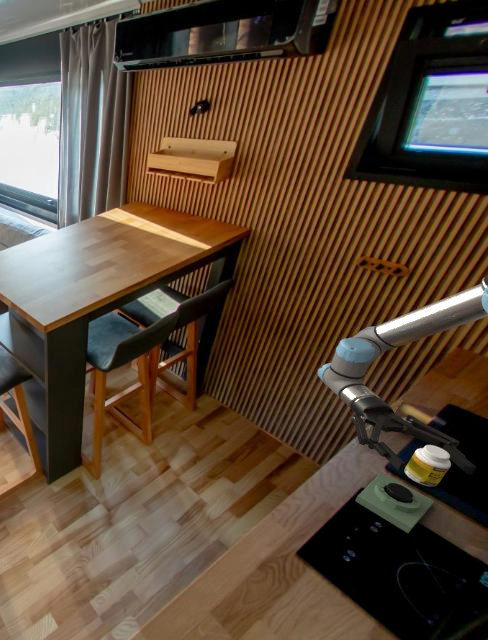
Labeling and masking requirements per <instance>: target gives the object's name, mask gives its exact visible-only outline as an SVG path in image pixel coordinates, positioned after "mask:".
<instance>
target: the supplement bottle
mask: <svg viewBox="0 0 488 640" xmlns="http://www.w3.org/2000/svg"><path fill="white" fill-rule="evenodd" d="M449 458H450V455H449V453H448V452H446V451H445V450H443V449H441V448H439V447H437V446H434V445H431V444H426V445H425V446H424V447H420V448H417V449H416V450H415V451H414V453H413V455H412V456H411V458H410V459H409V461H408V463H407V464H406V465H405V466H404V473H405V475H406V476H407V477H408V479H411V480H412V481H413V482H416V483H417V484H419V485H422V486H426V487H436V486H438V485H439V483H440V482H441V481H442V479H443V478H444V476H445V475H446V474H447V472H448V471H449V470H450V468H451V466H452V463H451V462H452V461H451V460H450V459H449Z"/></svg>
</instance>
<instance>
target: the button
mask: <svg viewBox="0 0 488 640" xmlns="http://www.w3.org/2000/svg"><path fill="white" fill-rule="evenodd" d="M385 491H386V493H387V494H388V495H389V496H390V497H392V498H393V499H395V500H397V501H399V502H403V503H409V502H410V501H411V499H412V498H413V494H412V492H411V491H410V490H409V489H407V488H406V487H404V486H402V485H400V484H396V483H389V484H388V485H387V487H386V489H385Z"/></svg>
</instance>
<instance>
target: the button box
mask: <svg viewBox="0 0 488 640" xmlns="http://www.w3.org/2000/svg"><path fill="white" fill-rule="evenodd" d="M389 483H396V484H400V485H402V486H404V487H406V488H407V489H409V490H410V491H411V492H412V494H413V498H412V499H411V501H410V502H409V503H403V502H399V501H397V500H395V499H393V498H392V497H390V496H389V495H388V494H387V493H386V491H385V489H386V487H387V485H388V484H389ZM354 501H355V502H356V503H358V504H359V505H361V506H363V507H364V508H365V509H367V510H369V511H370V512H372V513H374V514H376V515H377V516H379V517H381V518H382V519H384V520H385V521H387V522H388V523H390V524H392V525H393V526H395V527H396V528H398V529H400V530H402V531H403V532H405V533H407V534H409V533H410V532H411V531H412V530H413V528H415V526H416V525H417V524H418V522H419V521H420V520H421V519H422V518H423V517H424V515H425V514H426V513H427V512H428V510H429V509H430V508H431V507H432V505H433V504H434V503H435V500H433V499H431V498H430V497H427V496H426V495H424V494H422V493H420V492H418V491H417V490H415V489H413V488H411V487H410V486H407V485H405V484H404V483H402V482H400V481H398V480H396V479H394V478H392V477H391V476H389V475H388V474H387V475H386V474H385V473H383V472H379V473H378V474H377V476H375V478H374V479H372V481H370V482H369V484H368V485H367V486H366V487H365V488H364V489H363V490H362V491H361V492H360V493H359V494H358V495H357V497H356V498H355V500H354Z"/></svg>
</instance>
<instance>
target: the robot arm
mask: <svg viewBox="0 0 488 640" xmlns="http://www.w3.org/2000/svg"><path fill="white" fill-rule="evenodd" d="M487 317H488V275H487V276H485V277H483V278H482V280H481V282H480V283H479V284H477V285H474V286H472V287H469V288H467V289H464V290H462V291H459V292H457V293H454V294H452V295H449V296H447V297H444V298H442V299H439V300H437V301H434V302H432V303H430V304H427V305H425V306H422V307H419V308H418V309H415V310H412V311H410V312H407V313H405V314H402V315H400V316H397V317H395V318H393V319H390V320H387V321H385V322H383V323H380V324H378V325H376V326H368V327H366V328H364V329H362V330H360V331H358V332H357V334H356V335H354V336H353V337H349V338H343V339H341V340H340V341H339V342H338V345H337V346H336V348H335V352H334V355H333V357H332V360H331V362H328V363H325V364H323V365H322V367H320V368H318V369H317V375H318V377H319V379H320V380H321V381H322V383H323V384H324V385H325V386H327V388H329V389H330V390H331V391H332V392H333V393H334V394H335V395H336V396H337V397H338V398H340V400H341V401H342V402H343V403H344V404H346V405H347V407H349V408H350V409H351V410H352V411H353V412H354V413H353V415H352V416H351V420H350V421H351V422H352V424H353V425H354V428H355V431H356V436H357V441H358V444H359V445H360V446H361V445H362V446H365V445H366V446H367V448H368V449H370V450H374V451H375V452H377V454H378V455H379V456H381V457H382V458H385V459H386V460H387V461H388V462H389V463H390V464H391V465H392V466H393V468H395V469H396V470H397V471H403V469H404V468H405V466H406V462H405V461H404V460H402V458H401V457H400V456H399V455H397V454H396V452H394V450H392V448H390V447H389V445H387V444H386V443H385V442H384V441H379V440H380V436H381V433H382V432H385V433H400V434H402V435H405V436H411V437H413V438H416V439H418V440H420V441H422V442H424V443H427V444H428V445H433V446H437V447H439V448H441V449H443V450H445V451H446V452H448V453H449V455H450V458H449V460H450V461H451V462H452V463H454V464H455V465H456V466H457V467H458V468H459V469H461V470H462V471H463V472H464V473H465V474H467V475H473V473H474V472H475V471H476V469H477V466H476V465H475V464H473V463H472V462H471V461H470V460H469V459H467V457H466V455H465V454H464V453H463V452H461V451H460V450H459V449H458V448H457V447H458V446H459V445H460V441H459V440H458V439H456V438H453V437H452V436H450V435H448V434H446V433H444V432H442V431H440V430H438V429H436V428H434V427H432V426H430V425H428V424H426V423H424V422H422V421H420V420H419V419H417V418H416V417H415V416H413V415H411V414H408V415H407V416H406V417H401V416H399V415H398V414H396V412H395V411H394V409H393V408H392V407H391V406H390V405H389V404H388V403H387V402H386V401H384V399H382V398H381V397H380V396H379V395H378V394H376V393H375V392H374V391H373V390H371V388H369V387H368V386H367V385H366V383H364V382H363V379H364V377H365V375H366V372H367V371H368V368H369V366H370V365H371V364H373V362H374V361H376V360H377V359H378V358H379V357H380V356H381V355H383V354H384V353H385V352H388V351H390V350H391V351H392V350H394V349H396V348H398V347H401V346H405V345H408V344H410V343H413V342H417V341H419V340H420V341H421V340H423V339H425V338H428V337H431V336H434V335H437V334H440V333H443V332H445V331H449V330H452V329H454V328H457V327H460V326H461V327H462V326H463V325H467V324H470V323H472V322H475V321H478V320H481V319H484V318H487ZM365 423H366V424H367V425H370V426H371V427H372V431H371V432H372V433H371V435H370V438H369V436H368V432H367V428H366V424H365ZM405 427H406V428H405ZM404 428H405V429H404Z"/></svg>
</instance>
